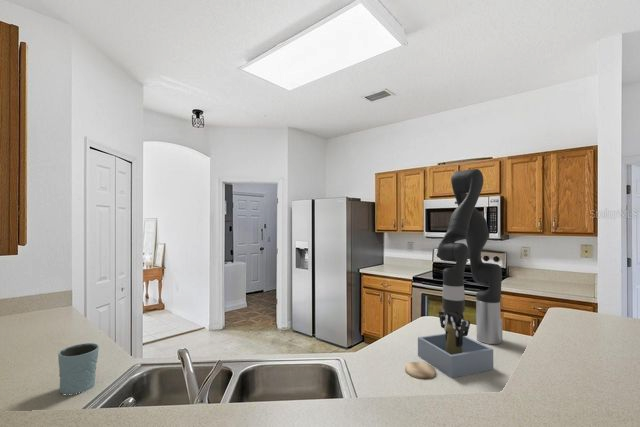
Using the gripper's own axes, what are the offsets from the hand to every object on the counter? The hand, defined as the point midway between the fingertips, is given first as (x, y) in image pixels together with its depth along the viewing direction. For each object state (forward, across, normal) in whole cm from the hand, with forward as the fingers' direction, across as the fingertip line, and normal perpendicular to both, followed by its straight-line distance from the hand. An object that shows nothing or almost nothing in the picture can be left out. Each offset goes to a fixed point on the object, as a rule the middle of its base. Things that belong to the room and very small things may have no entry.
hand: (453, 343), depth 116 cm
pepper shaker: (+4, 0, 0) cm, 4 cm away
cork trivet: (+7, -2, +16) cm, 18 cm away
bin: (+7, 0, 0) cm, 7 cm away
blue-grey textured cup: (+7, +23, +123) cm, 125 cm away
